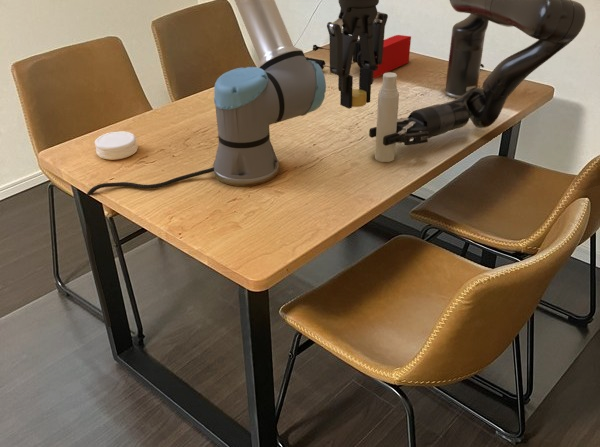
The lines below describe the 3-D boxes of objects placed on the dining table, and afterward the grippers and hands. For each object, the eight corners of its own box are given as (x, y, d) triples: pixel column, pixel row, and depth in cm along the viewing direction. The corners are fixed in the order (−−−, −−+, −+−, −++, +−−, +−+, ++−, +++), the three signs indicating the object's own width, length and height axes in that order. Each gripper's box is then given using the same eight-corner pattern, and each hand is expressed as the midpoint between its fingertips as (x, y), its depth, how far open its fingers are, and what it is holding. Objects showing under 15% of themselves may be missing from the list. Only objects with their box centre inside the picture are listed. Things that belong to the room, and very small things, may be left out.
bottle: (373, 161, 149) (378, 77, 138) (375, 152, 153) (380, 70, 142) (393, 162, 148) (399, 78, 137) (395, 154, 152) (401, 71, 141)
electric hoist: (293, 36, 204) (372, 51, 189) (336, 22, 223) (412, 35, 208) (292, 67, 209) (370, 83, 194) (335, 51, 228) (409, 65, 213)
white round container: (108, 164, 149) (105, 151, 148) (90, 151, 156) (87, 138, 154) (145, 152, 155) (143, 139, 153) (126, 139, 161) (123, 127, 159)
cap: (356, 108, 123) (356, 98, 122) (340, 103, 126) (340, 92, 125) (370, 103, 126) (371, 92, 125) (355, 97, 129) (355, 87, 127)
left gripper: (335, -8, 107) (334, 119, 119) (407, -21, 115) (399, 98, 128) (309, -15, 112) (310, 108, 124) (380, -27, 121) (374, 89, 133)
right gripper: (413, 98, 157) (359, 112, 149) (453, 116, 147) (397, 133, 139) (411, 125, 161) (358, 141, 154) (450, 145, 151) (395, 163, 143)
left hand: (355, 103), depth 126 cm, fingers closed on cap, 4 cm apart
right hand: (377, 137), depth 146 cm, fingers closed on bottle, 4 cm apart
